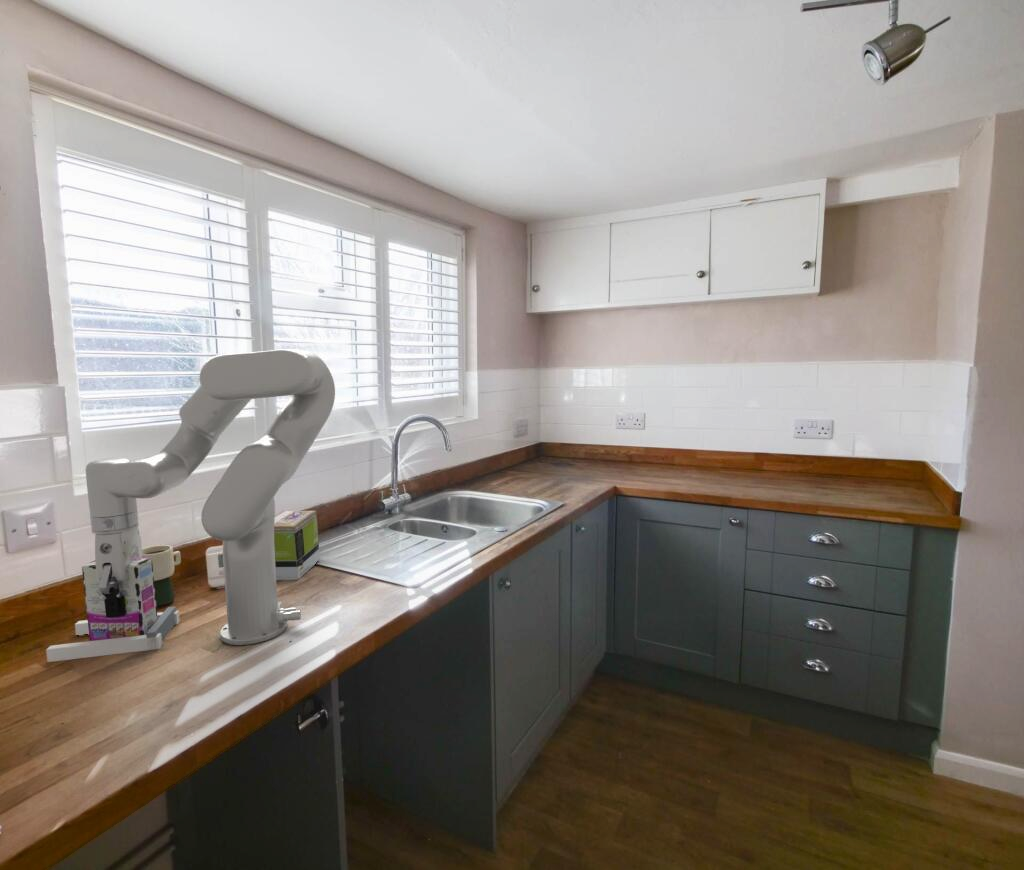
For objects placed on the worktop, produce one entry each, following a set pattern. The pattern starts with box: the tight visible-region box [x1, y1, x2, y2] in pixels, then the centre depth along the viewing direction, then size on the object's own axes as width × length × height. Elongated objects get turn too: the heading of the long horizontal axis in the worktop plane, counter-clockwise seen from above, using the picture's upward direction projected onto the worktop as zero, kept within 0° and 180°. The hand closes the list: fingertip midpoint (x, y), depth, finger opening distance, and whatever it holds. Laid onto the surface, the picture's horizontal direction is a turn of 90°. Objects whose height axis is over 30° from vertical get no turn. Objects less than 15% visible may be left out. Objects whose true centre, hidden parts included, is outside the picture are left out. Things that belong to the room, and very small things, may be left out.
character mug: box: [142, 544, 182, 607], centre depth 127 cm, size 11×7×13 cm, turn 148°
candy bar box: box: [81, 558, 158, 641], centre depth 110 cm, size 11×5×16 cm, turn 88°
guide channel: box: [45, 605, 180, 663], centre depth 111 cm, size 18×12×4 cm, turn 105°
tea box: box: [274, 510, 321, 581], centre depth 148 cm, size 15×10×15 cm, turn 178°
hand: (123, 608), depth 110 cm, fingers open, 6 cm apart
